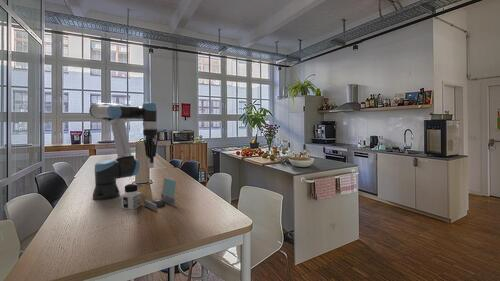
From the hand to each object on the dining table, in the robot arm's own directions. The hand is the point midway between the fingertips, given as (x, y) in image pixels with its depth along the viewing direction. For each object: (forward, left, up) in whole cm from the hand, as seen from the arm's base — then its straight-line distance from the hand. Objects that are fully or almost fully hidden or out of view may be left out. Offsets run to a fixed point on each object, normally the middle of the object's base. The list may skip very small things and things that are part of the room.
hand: (151, 167), depth 146 cm
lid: (+9, +6, -12) cm, 16 cm away
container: (-1, -12, -21) cm, 24 cm away
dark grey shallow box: (+9, 0, -21) cm, 23 cm away
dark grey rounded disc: (+8, 0, -21) cm, 23 cm away
